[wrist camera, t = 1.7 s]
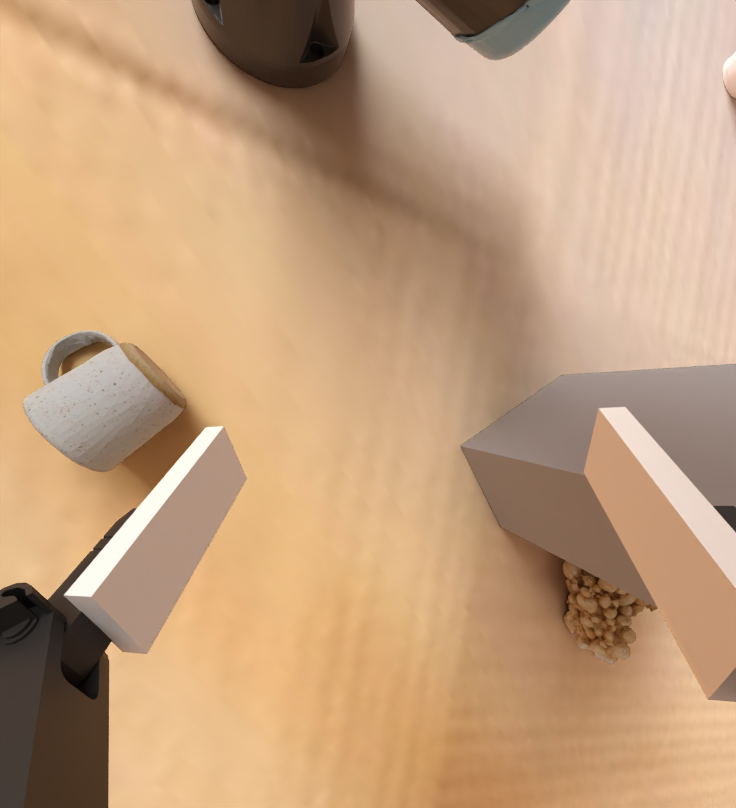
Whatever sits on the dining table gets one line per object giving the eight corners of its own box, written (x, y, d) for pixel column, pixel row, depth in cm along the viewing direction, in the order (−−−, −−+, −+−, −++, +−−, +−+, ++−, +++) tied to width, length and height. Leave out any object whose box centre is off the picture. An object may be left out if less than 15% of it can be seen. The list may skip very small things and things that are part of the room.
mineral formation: (563, 646, 49) (532, 559, 46) (610, 581, 55) (586, 500, 51) (629, 687, 42) (598, 588, 38) (676, 608, 48) (652, 515, 44)
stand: (500, 526, 45) (934, 751, 17) (460, 445, 43) (881, 546, 14) (593, 450, 50) (1053, 524, 21) (562, 374, 48) (1027, 345, 19)
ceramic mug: (199, 404, 34) (184, 405, 26) (122, 465, 32) (84, 484, 24) (112, 313, 31) (70, 286, 24) (24, 372, 29) (-50, 363, 22)
